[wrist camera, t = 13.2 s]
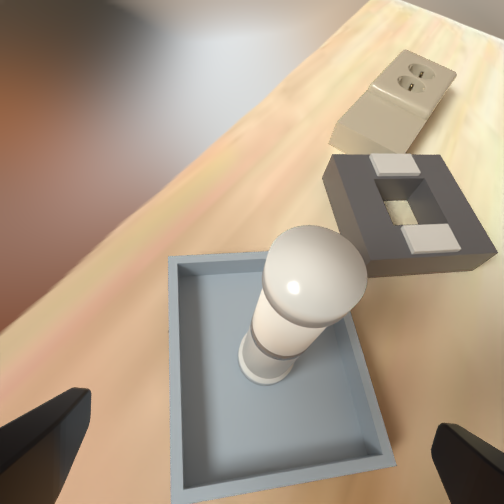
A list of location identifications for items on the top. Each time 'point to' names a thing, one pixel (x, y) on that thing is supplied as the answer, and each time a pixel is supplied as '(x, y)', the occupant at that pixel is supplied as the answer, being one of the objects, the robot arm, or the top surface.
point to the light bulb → (299, 299)
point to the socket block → (422, 204)
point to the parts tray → (259, 392)
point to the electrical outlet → (393, 107)
